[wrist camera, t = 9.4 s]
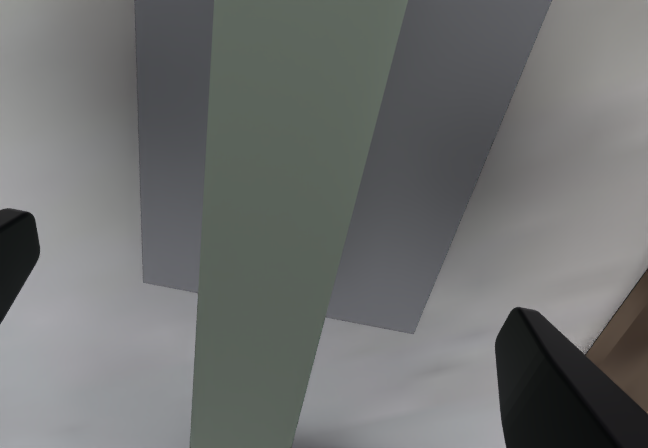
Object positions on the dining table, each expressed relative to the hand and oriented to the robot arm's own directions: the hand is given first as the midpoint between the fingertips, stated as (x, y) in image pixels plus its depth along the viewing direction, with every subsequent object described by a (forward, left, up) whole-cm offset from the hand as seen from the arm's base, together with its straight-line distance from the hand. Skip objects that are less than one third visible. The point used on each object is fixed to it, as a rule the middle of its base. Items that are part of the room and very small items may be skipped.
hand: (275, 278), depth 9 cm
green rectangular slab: (0, 0, -8) cm, 9 cm away
